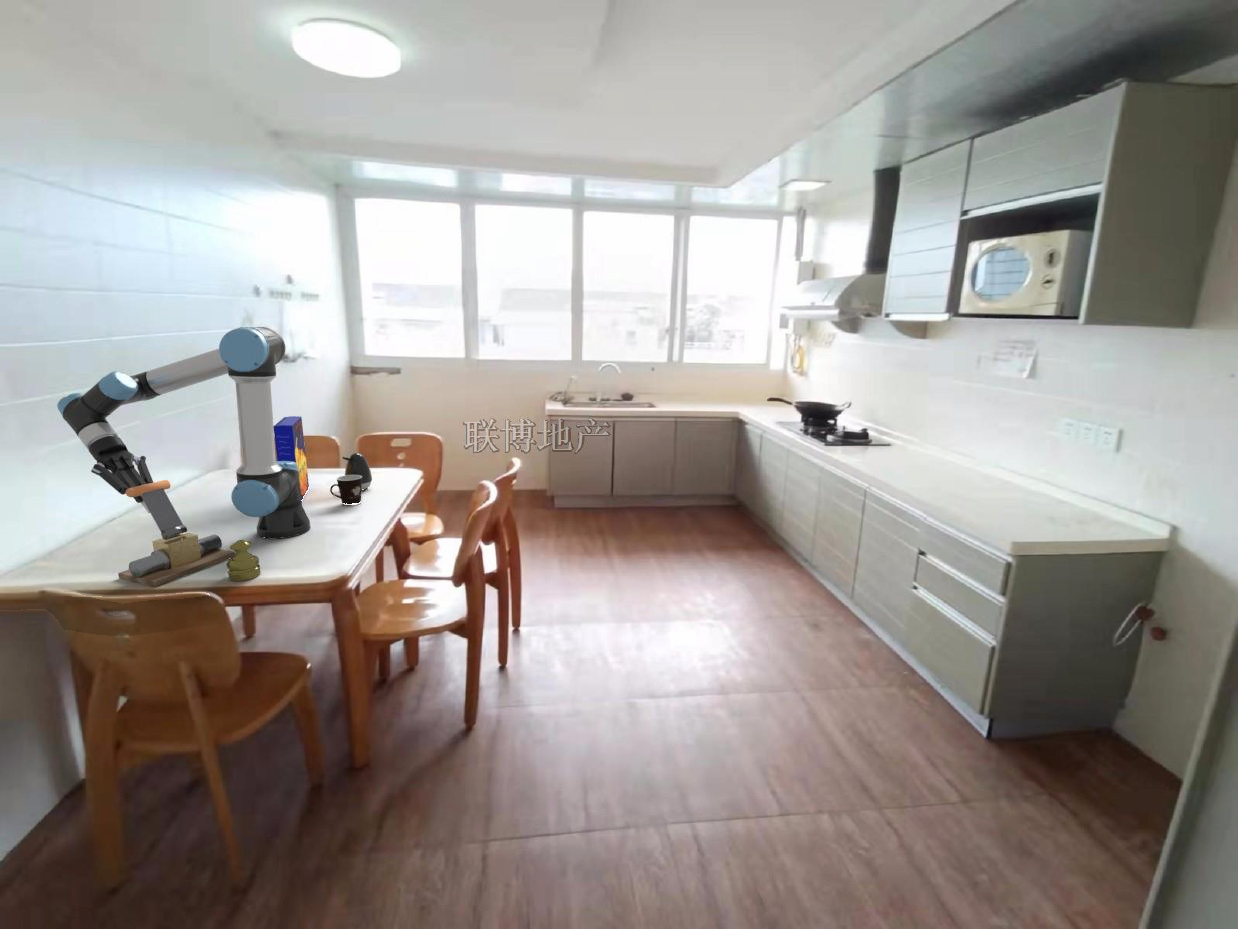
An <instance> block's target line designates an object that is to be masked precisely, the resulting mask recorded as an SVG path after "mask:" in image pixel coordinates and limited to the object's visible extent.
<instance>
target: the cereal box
mask: <svg viewBox="0 0 1238 929" xmlns="http://www.w3.org/2000/svg"><path fill="white" fill-rule="evenodd" d="M273 428H274V443H275V454H276V461H292V462H295V463H296V464H297V466H298V470H299V481H300V491H301V500H302V499H303V496H304V495H305V493H306V491H307V490H308V487H309V488H310V486H309V484H310V483H309V475H308V466H307V457H306V455H307V454H306V447H305V446H306V445H305V437H304V436H305V435H304V428H303V418H302V416H300V415H299V416H298V415H297V416H296V415H295V416H293V415H292V416H291V415H290V416H284V417H283V418H282V419H280V420H279V421H278V422H277V423H275V425H274V424H273Z"/></svg>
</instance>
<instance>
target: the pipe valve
mask: <svg viewBox="0 0 1238 929" xmlns="http://www.w3.org/2000/svg"><path fill="white" fill-rule="evenodd" d="M198 536H199V535H198V534H196V533H195V534H194V533H189V532H187V533H186V534H184V535H181V536H178V537H174V538H171V539H168V540H164V539H163V538H159V539H156V540H152V542H151V543H152V546H153V548H152V549H153V551H152V552H151V553H150V555H148V556H144V557H142V558H139V559H135V560H133V561H132V560H131V562H129V564H128V569H127V570H123V571H120V572H118V573H117V574H118V579H119V578H122V579H121V580H123V579H125V580H124V581H127V582H128V581H129V582H133V583H138V584H140V585H141V584H142V585H146V586H150V587H154V588H156V587H159V586H162V585H165V584H168V583H170V582H173V581H175V580H178V579H181V578H184V577H186V576H189V575H191V574H194V573H196V572H199V571H201V570H202V571H203V570H204V568H205V569H207V568H210V567H213V566H215V565H217V564H220V563H223V562H226V561H228V560H230V559H229V558H231V559H232V557H233V556H234V555H235V554H236V552H235V551H234V550H227V549H221V548H222V545H223V542H222V539H221V537H220V536H219V535H217V534H211V535H209V536H205V537H203V538H200V539H199V537H198ZM227 559H228V560H227ZM222 561H223V562H222ZM185 575H186V576H185ZM177 578H178V579H177Z"/></svg>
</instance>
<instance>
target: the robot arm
mask: <svg viewBox="0 0 1238 929" xmlns="http://www.w3.org/2000/svg"><path fill="white" fill-rule="evenodd" d="M218 346H219V347H218V348H216V349H213V350H210V351H206V352H203V353H200V354H197V355H195V356H190V357H187V358H185V359H182V360H178V361H176V362H171V363H169V364H165V365H162V366H160V367H156V368H153V369H150V370H147V371H144V372H141V373H137V374H135V375H129V374H126V373H124V372H120V371H119V370H118V371H117V370H116V371H115V370H114V371H111V372H109V373H108V374H106V375H105V376H103V377H101V379H99V381H98V382H96V383H95V384H94V385H93V386H92V387H91V388H90V389H89V390H87V392H85V393H82V392H81V393H80V392H75V393H70V394H68V395H67V396H64V397H62V398H60V399H59V401H58V402H57V404H56V406H57V410H58V412H59V413H60V415H61V416H62V419H63V420H64V421H65V422H66V424H68V425H69V426H70V428H71V429H72V430H73V431H74V432H75V434H76V436H77V437H78V439H80V441H81V442H82V444H83V445H84V447H85V448H86V449H87V450H88V452H89V453H90V455H91V456H92V457H93V459H94V460H96V464H95V463H94V464H93V466H92V469H91V470H90V472H91V473H93V474H94V475H96V476H99V477H100V478H101V479H102V480H104V481H105V482H106V483H107V484H108V485H109V486H111V487H112V488H113V489H114V490H115V491H117V492H118V494H120V495H125V494H126V490H127V489H129V488H132V487H136V486H140V485H145V484H149V483H154V480H153V477H152V476H151V473H150V471H149V468H148V466H147V463H146V459H147V457H146V456H145V455H140V457H139V456H135V455H134V453H132V452H130V451H129V450H128V448H127V445H126V444H125V442H123V440H122V438H120V437H119V435H118V433H117V432H116V431H115V430H114V428H113V427H112V426H111V424H110V423H109V421H108V420H107V417H108V416H110V415H112V414H113V412H115V411H116V410H117V409H119V408H120V407H121V406H124V405H128V404H134V403H138V402H143V401H145V402H146V401H149V400H153V399H156V398H157V397H159V396H161V395H164V394H167V393H172V392H175V391H177V390H180V389H183V388H187V387H190V386H192V385H193V386H194V385H196V384H199V383H202V382H206V381H208V380H209V381H210V380H212V379H216V378H218V377H221V376H222V377H223V376H225V375H227V374H228V377H229V378H230V379H232V380H233V381H234V383H235V393H236V395H235V396H236V408H237V417H238V418H237V419H238V432H239V446H240V457H241V458H240V459H241V460H240V461H241V464H240V466H239V467H238V468H236V471H235V472H236V473H235V474H236V485H235V486H233V489H232V491H231V502H232V504H233V507H235V509H236V511H237V510H238V511H239V512H240V513H242V514H243V515H246V516H248V517H253V518H258V520H257V525H256V534H258V535H257V536H258V537H259V536H260V537H259V538H262V537H265V538H264V539H269V538H276V539H282V538H281V537H286V538H292V537H295V536H294V535H296V536H298V535H297V534H299V535H302V534H304V532H305V531H307V532H308V531H309V530H311V521H310V519H309V516H308V514H307V513H306V511H305V509H304V507H303V502H302V501H301V491H300V481H299V470H298V466H297V464H296V463H295V462H292V461H277V457H276V445H275V436H274V428H273V426H274V416H273V415H274V414H273V412H274V411H273V402H272V401H273V400H272V398H273V397H272V385H271V384H272V383H271V382H272V381H273V380H274V379H275V378H277V369H276V368H277V367H276V365H277V364H279V363H280V362H282V360H283V359H284V357H285V355H286V350H287V349H286V344H285V340H284V339H283V337H282V335H280V334H279V333H278V332H277V331H275V330H273V329H271V328H269V327H266V326H265V327H264V326H252V327H251V326H241V327H237V328H233V329H231V330H229V331H228V332H226V334H224V335H223V337H222V338H221V340H220V342H219V345H218ZM133 462H134V463H133ZM135 466H136V467H137V468H135ZM132 498H133V499H134V501H135V502H136V503H137V504H141V505H142V507H143V508H144V509H145V510H146V512H147V513H148V514H151V513H150V511H149V510H148V508H147V506H146V504H145V502H144V500H143V499H142V497H141V496H137V497H132ZM301 533H302V534H301ZM305 533H306V532H305ZM291 536H292V537H291Z"/></svg>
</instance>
